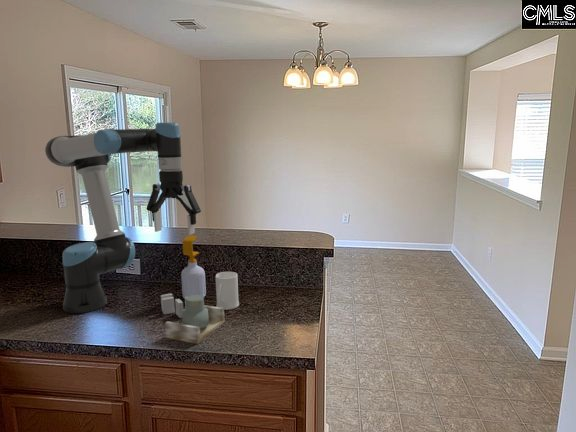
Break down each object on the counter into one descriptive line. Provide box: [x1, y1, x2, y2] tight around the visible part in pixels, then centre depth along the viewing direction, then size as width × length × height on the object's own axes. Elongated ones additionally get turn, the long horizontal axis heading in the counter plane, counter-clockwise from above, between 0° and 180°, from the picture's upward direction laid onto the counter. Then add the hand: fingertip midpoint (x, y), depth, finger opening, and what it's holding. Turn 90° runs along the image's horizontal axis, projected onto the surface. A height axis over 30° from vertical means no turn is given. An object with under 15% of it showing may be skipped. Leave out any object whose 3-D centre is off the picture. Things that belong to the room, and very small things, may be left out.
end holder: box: [164, 304, 226, 345], centre depth 144 cm, size 12×17×5 cm
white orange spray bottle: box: [180, 234, 207, 300], centre depth 170 cm, size 9×9×25 cm
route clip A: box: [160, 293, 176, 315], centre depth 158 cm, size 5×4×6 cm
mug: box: [215, 271, 240, 311], centre depth 161 cm, size 12×8×12 cm
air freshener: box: [181, 295, 209, 329], centre depth 143 cm, size 11×8×10 cm
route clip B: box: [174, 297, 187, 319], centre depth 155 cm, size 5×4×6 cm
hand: (174, 232), depth 148 cm, fingers open, 13 cm apart
